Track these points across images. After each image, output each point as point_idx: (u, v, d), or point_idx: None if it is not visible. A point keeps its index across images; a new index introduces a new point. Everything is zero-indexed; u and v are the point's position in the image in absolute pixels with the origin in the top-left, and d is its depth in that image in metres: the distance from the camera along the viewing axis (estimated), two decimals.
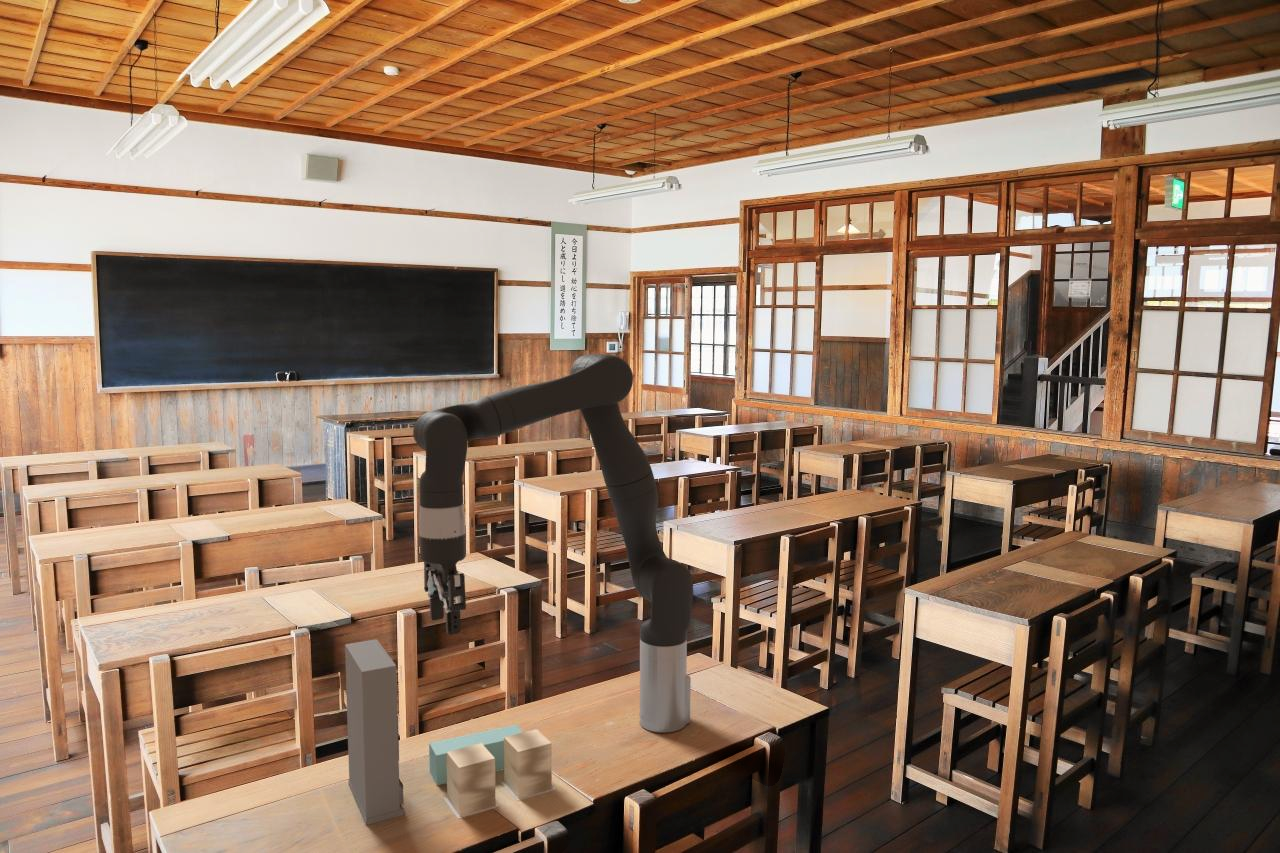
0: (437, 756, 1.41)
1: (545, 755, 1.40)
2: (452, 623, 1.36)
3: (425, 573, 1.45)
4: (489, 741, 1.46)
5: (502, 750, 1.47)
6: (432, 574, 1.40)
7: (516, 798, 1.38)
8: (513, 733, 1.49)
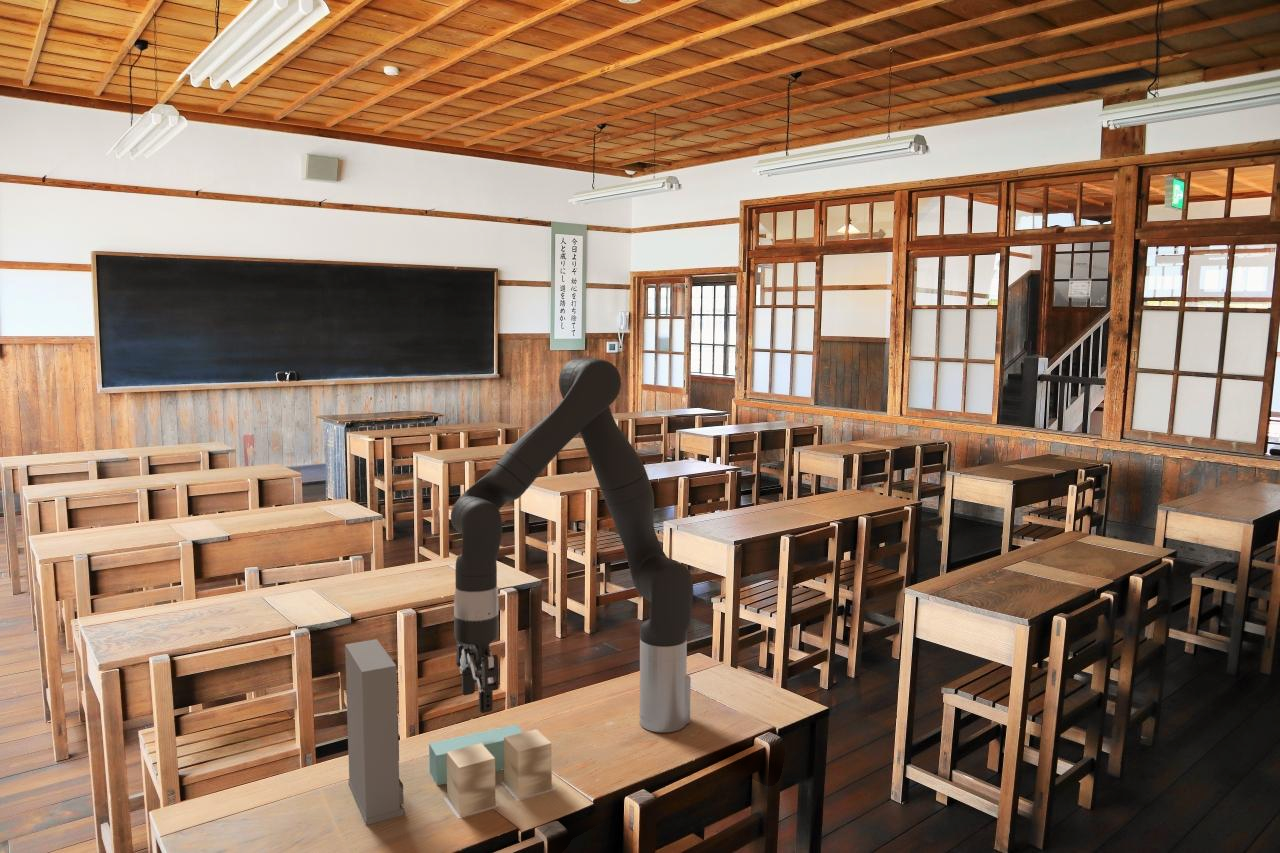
0: (437, 756, 1.41)
1: (545, 755, 1.40)
2: (485, 702, 1.41)
3: (457, 649, 1.50)
4: (489, 741, 1.46)
5: (502, 750, 1.47)
6: (465, 652, 1.45)
7: (516, 798, 1.38)
8: (513, 733, 1.49)
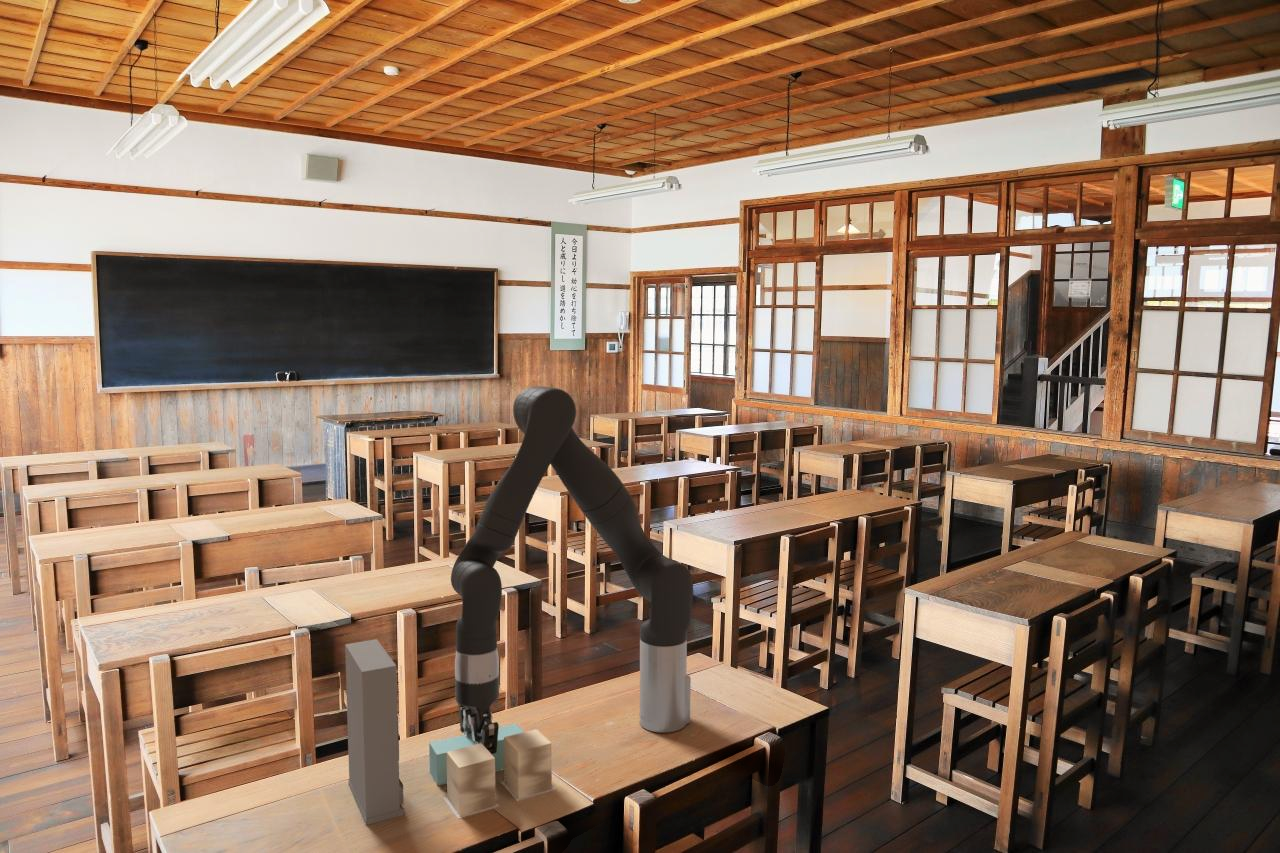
0: (438, 755, 1.41)
1: (545, 755, 1.40)
2: None
3: (460, 714, 1.51)
4: None
5: (502, 749, 1.47)
6: (466, 712, 1.46)
7: (516, 798, 1.38)
8: (513, 732, 1.49)
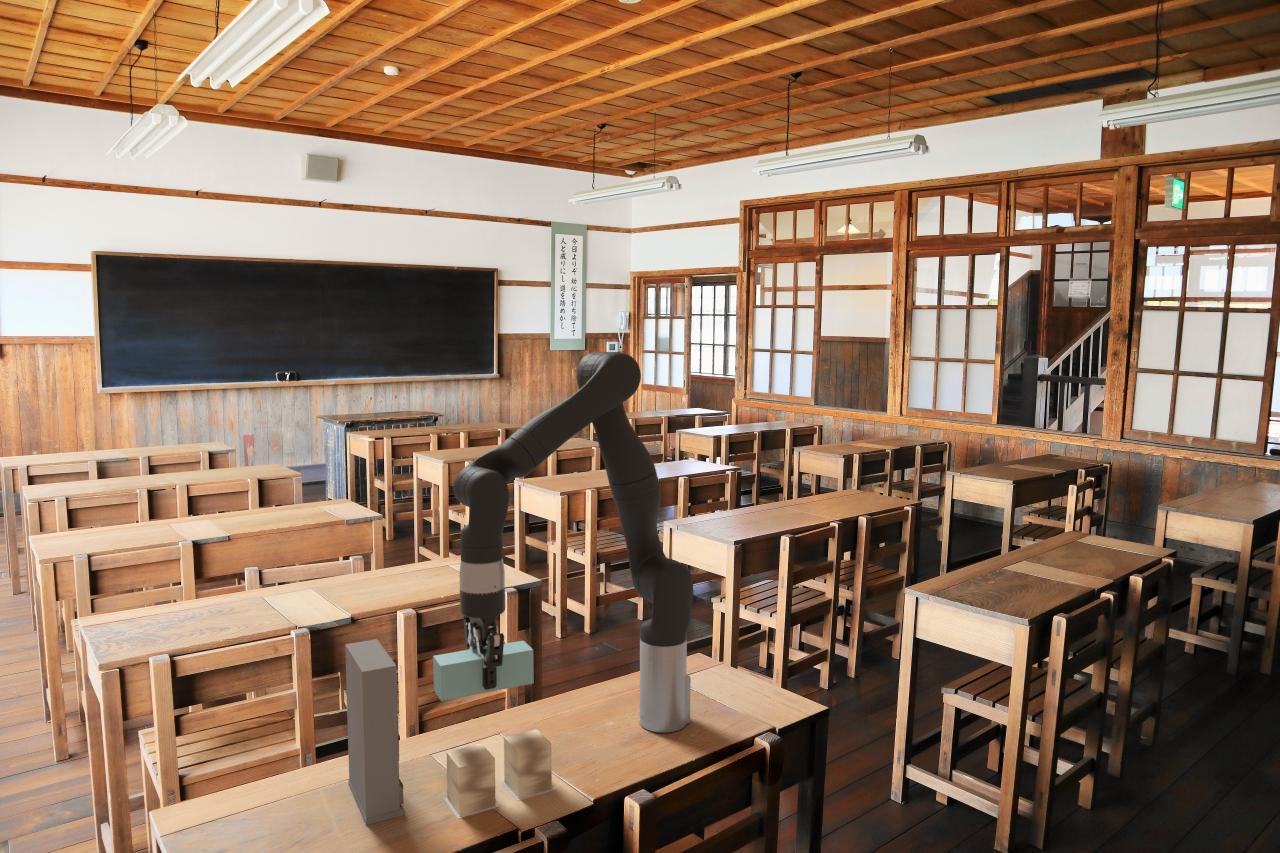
0: (441, 667, 1.37)
1: (545, 755, 1.40)
2: (488, 678, 1.39)
3: (465, 629, 1.47)
4: None
5: (508, 664, 1.42)
6: (472, 626, 1.42)
7: (516, 798, 1.38)
8: (519, 648, 1.45)
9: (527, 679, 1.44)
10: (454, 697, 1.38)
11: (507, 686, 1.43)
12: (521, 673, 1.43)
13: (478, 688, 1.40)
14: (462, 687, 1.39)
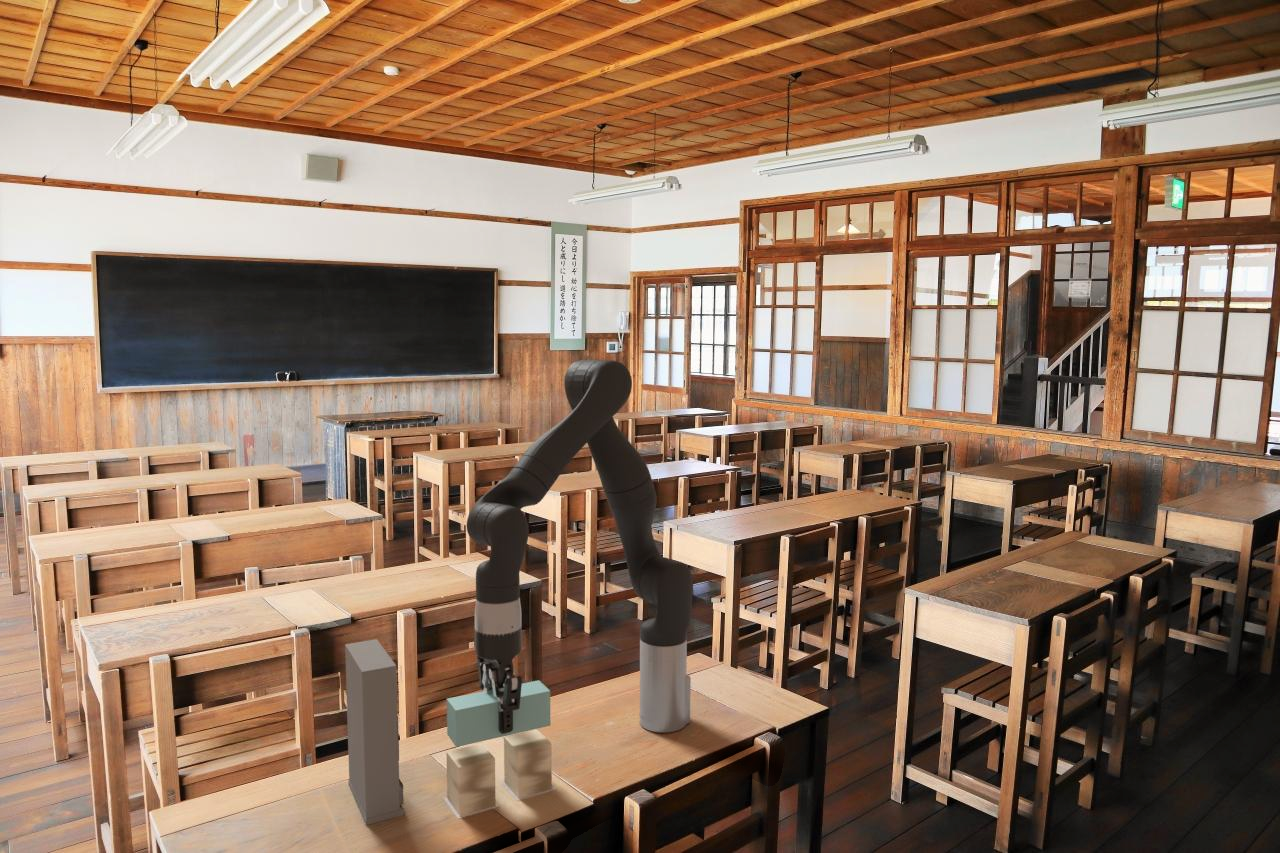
0: (456, 711, 1.32)
1: (545, 755, 1.40)
2: (505, 722, 1.34)
3: (479, 670, 1.41)
4: None
5: (525, 706, 1.37)
6: (487, 667, 1.37)
7: (516, 798, 1.38)
8: (536, 689, 1.40)
9: (544, 721, 1.39)
10: (469, 742, 1.33)
11: (523, 729, 1.37)
12: (538, 715, 1.38)
13: (493, 733, 1.35)
14: (477, 732, 1.34)
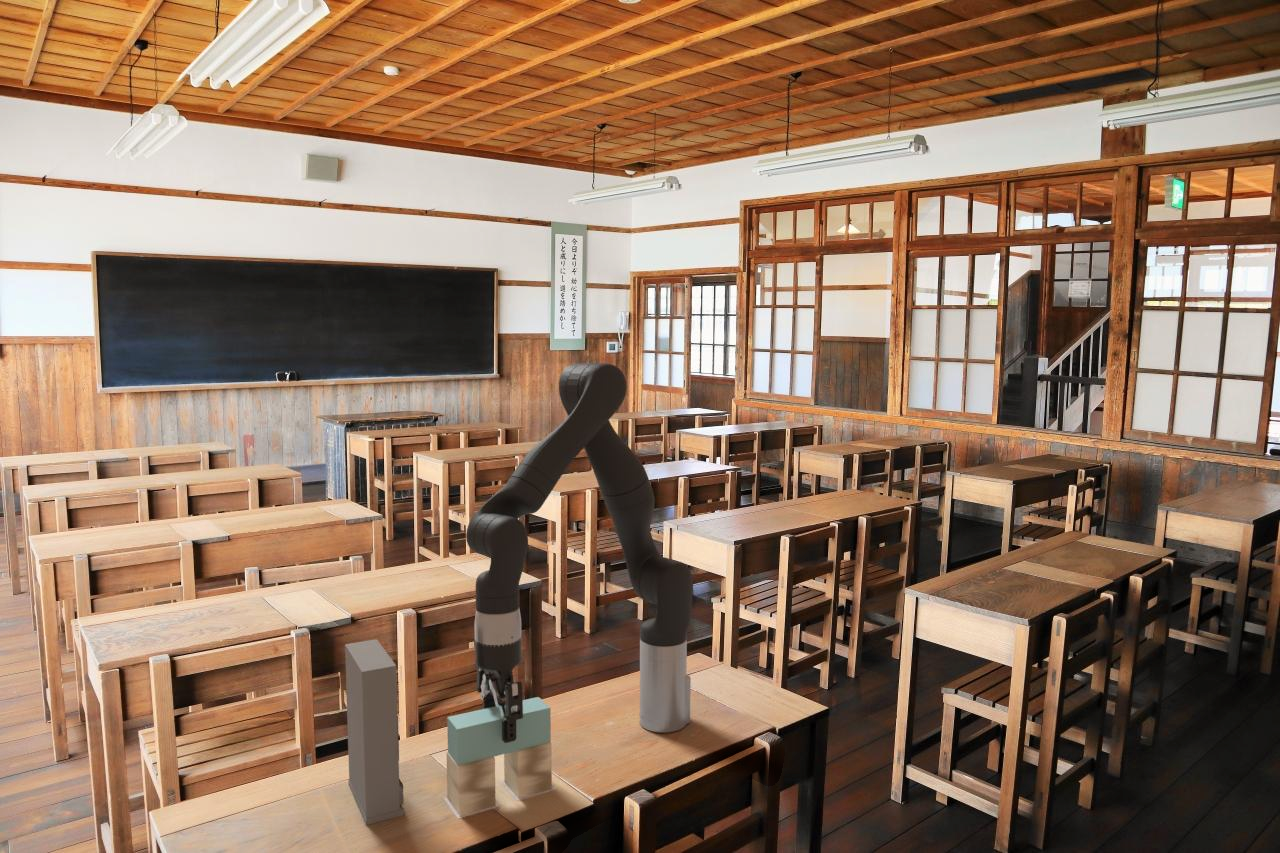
0: (458, 730, 1.32)
1: (545, 755, 1.40)
2: (508, 731, 1.33)
3: (478, 674, 1.42)
4: None
5: (525, 723, 1.38)
6: (487, 678, 1.37)
7: (516, 798, 1.38)
8: (536, 705, 1.40)
9: (544, 738, 1.40)
10: (470, 761, 1.33)
11: (524, 746, 1.38)
12: (538, 732, 1.39)
13: (494, 750, 1.35)
14: (478, 750, 1.34)
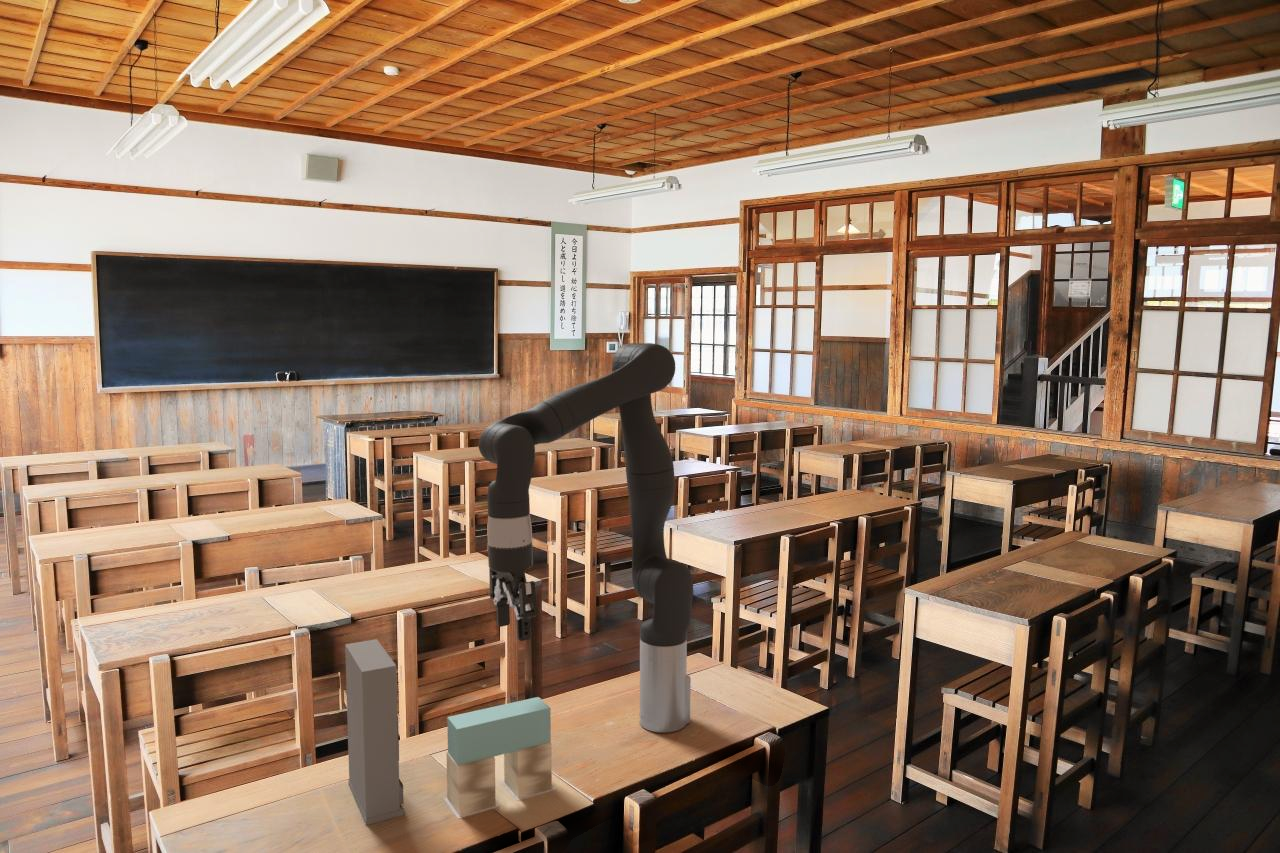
0: (458, 730, 1.32)
1: (545, 755, 1.40)
2: (523, 630, 1.40)
3: (491, 581, 1.48)
4: (511, 713, 1.37)
5: (525, 723, 1.38)
6: (500, 582, 1.43)
7: (516, 798, 1.38)
8: (536, 705, 1.40)
9: (544, 738, 1.40)
10: (470, 761, 1.33)
11: (524, 746, 1.38)
12: (538, 732, 1.39)
13: (494, 750, 1.35)
14: (478, 750, 1.34)
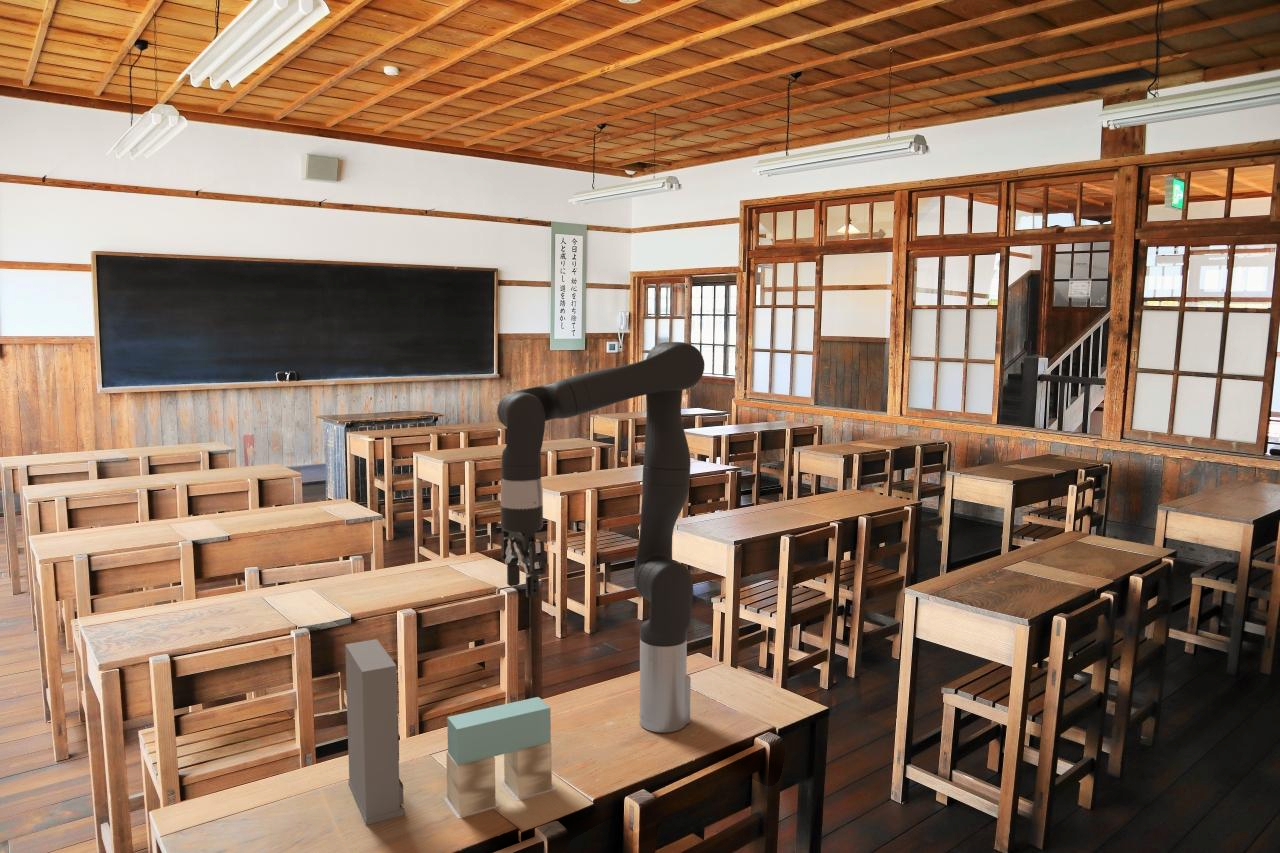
0: (458, 730, 1.32)
1: (545, 755, 1.40)
2: (532, 587, 1.48)
3: (502, 542, 1.56)
4: (511, 713, 1.37)
5: (525, 723, 1.38)
6: (512, 542, 1.51)
7: (516, 798, 1.38)
8: (536, 705, 1.40)
9: (544, 738, 1.40)
10: (470, 761, 1.33)
11: (524, 746, 1.38)
12: (538, 732, 1.39)
13: (494, 750, 1.35)
14: (478, 750, 1.34)
